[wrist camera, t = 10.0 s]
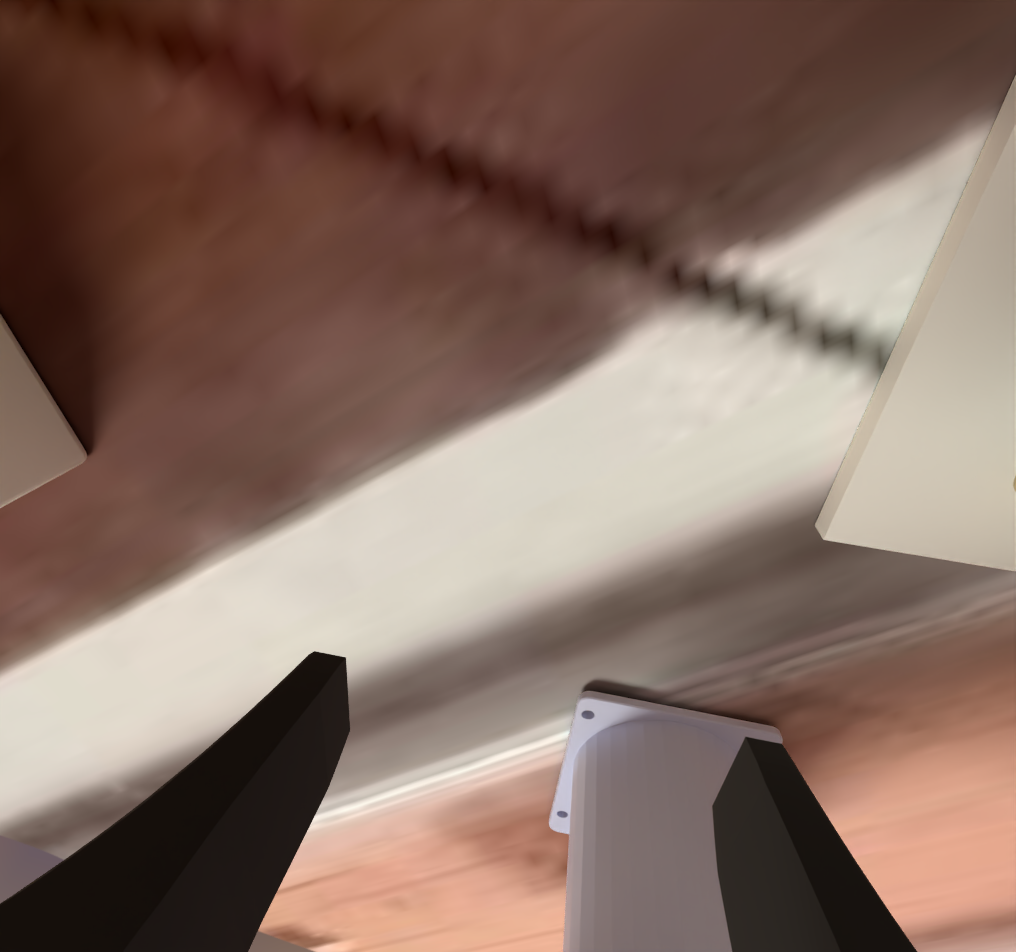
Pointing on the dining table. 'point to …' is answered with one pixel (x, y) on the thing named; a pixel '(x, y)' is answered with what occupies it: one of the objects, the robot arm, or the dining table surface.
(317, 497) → the dining table surface
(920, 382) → the cream peg board
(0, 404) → the medicine bottle
